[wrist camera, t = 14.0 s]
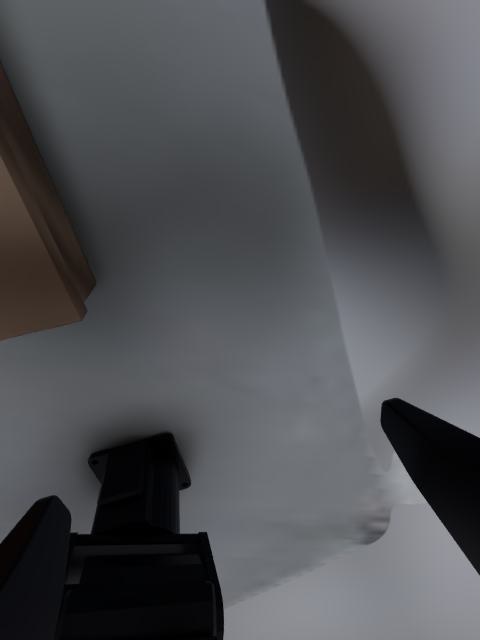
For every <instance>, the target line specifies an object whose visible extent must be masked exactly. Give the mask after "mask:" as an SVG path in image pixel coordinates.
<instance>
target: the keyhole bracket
mask: <svg viewBox="0 0 480 640" xmlns="http://www.w3.org/2000/svg"><path fill="white" fill-rule="evenodd" d="M95 285H96V282H95V280H94V277H93V275H92V273H91V270H90V268H89V266H88V263H87V261H86V259H85V257H84V254H83V252H82V250H81V247H80V245H79V243H78V240H77V238H76V236H75V234H74V231H73V229H72V227H71V224H70V222H69V220H68V217H67V215H66V213H65V210H64V208H63V206H62V204H61V201H60V199H59V197H58V194H57V192H56V190H55V187H54V185H53V183H52V181H51V178H50V176H49V174H48V171H47V169H46V167H45V164H44V162H43V160H42V158H41V155H40V153H39V151H38V148H37V146H36V144H35V141H34V139H33V137H32V135H31V132H30V130H29V128H28V125H27V123H26V121H25V118H24V116H23V114H22V111H21V109H20V107H19V105H18V102H17V100H16V98H15V95H14V93H13V91H12V88H11V86H10V84H9V82H8V79H7V77H6V75H5V72H4V70H3V68H2V65H1V63H0V340H3V339H8V338H12V337H16V336H20V335H24V334H29V333H33V332H37V331H41V330H46V329H50V328H54V327H58V326H62V325H67V324H71V323H75V322H79V321H82V320H83V318H84V316H85V314H86V313H87V309H86V307H85V305H84V302H85V300H86V299H87V297H88V296H89V294H90V293H91V291H92V290H93V288H94V286H95Z"/></svg>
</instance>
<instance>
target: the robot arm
mask: <svg viewBox="0 0 480 640" xmlns="http://www.w3.org/2000/svg"><path fill="white" fill-rule="evenodd" d="M381 426H382V429H383V431H384V432H385V434H386V435H387V437H388V439H389V441H390V443H391V444H392V446H393V448H394V450H395V451H396V453H397V455H398V457H399V458H400V460H401V462H402V464H403V465H404V467H405V469H406V471H407V472H408V474H409V476H410V477H411V479H412V480H413V482H414V483H415V485H416V486H417V488H418V489H419V491H420V492H421V494H422V495H423V496H424V498H425V499H426V501H427V502H428V503H429V505H430V506H431V508H432V509H433V510H434V512H435V513H436V515H437V516H438V517H439V519H440V520H441V522H442V523H443V525H444V526H445V527H446V529H447V530H448V532H449V533H450V534H451V536H452V537H453V539H454V540H455V541H456V543H457V544H458V545H459V547H460V548H461V550H462V551H463V552H464V554H465V555H466V557H467V558H468V560H469V561H470V562H471V564H472V565H473V567H474V568H475V569H476V571H477V572H478V573H479V575H480V438H479V437H477V436H475V435H473V434H471V433H468V432H467V431H464V430H462V429H460V428H458V427H456V426H454V425H452V424H450V423H448V422H446V421H444V420H442V419H440V418H438V417H436V416H434V415H432V414H430V413H428V412H426V411H424V410H421V409H420V408H417V407H415V406H414V405H411V404H409V403H407V402H405V401H403V400H401V399H399V398H392V399H389V400H385V401H383V403H382V407H381ZM88 464H89V466H90V468H91V469H92V471H93V472H94V474H95V475H96V477H97V478H98V480H99V481H100V483H101V488H100V492H99V497H98V501H97V509H96V513H95V517H94V522H93V526H92V531H91V534H78V533H70V529H71V514H70V512H69V510H68V509H67V508H66V506H65V505H64V504H63V503H62V501H61V500H60V499H59V498H58V497H57V496H55V495H52V496H48V497H45V498H41V499H39V500H37V501H36V502H35V503H34V504H33V505H32V507H31V508H30V509H29V510H28V511H27V512H26V514H25V515H24V516H23V517H22V518H21V520H20V521H19V522H18V523H17V524H16V526H15V527H14V528H13V529H12V530H11V532H10V533H9V534H8V535H7V536H6V538H5V539H4V540H3V541H2V542H1V544H0V640H223V635H224V611H223V600H222V594H221V589H220V585H219V580H218V576H217V572H216V568H215V564H214V560H213V556H212V551H211V547H210V543H209V539H208V535H207V532H199V533H198V534H180V518H179V490H182V489H186V488H188V487H190V485H191V479H190V476H189V474H188V471H187V469H186V466H185V464H184V462H183V459H182V457H181V454H180V452H179V449H178V447H177V444H176V442H175V440H174V437H173V435H171V434H168V433H167V434H163V435H159V436H155V437H152V438H148V439H144V440H141V441H137V442H134V443H130V444H126V445H123V446H119V447H116V448H112V449H108V450H105V451H101V452H98V453H94V454H92V455H90V457H89V460H88Z"/></svg>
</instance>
